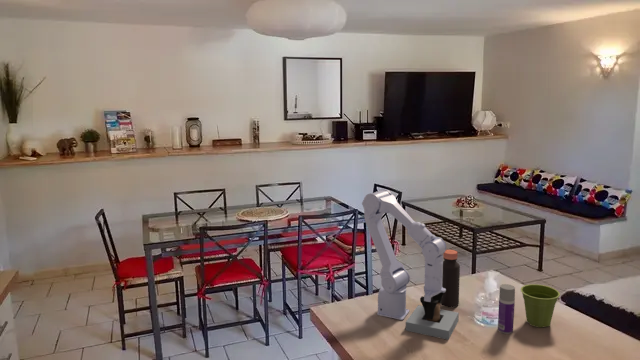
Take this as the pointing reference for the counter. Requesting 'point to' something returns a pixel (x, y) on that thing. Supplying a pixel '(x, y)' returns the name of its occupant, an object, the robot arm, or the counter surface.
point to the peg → (436, 314)
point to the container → (506, 309)
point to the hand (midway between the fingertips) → (432, 313)
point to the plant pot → (539, 303)
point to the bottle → (450, 279)
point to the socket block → (432, 323)
